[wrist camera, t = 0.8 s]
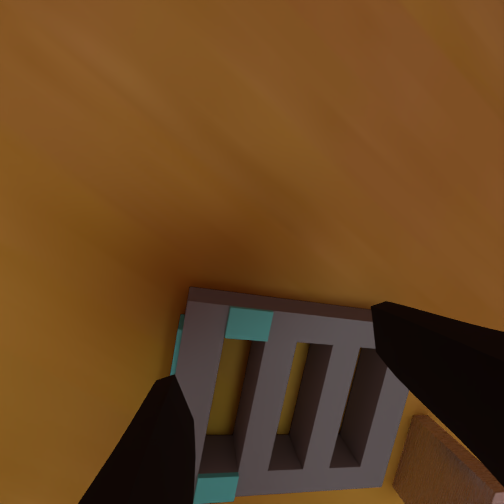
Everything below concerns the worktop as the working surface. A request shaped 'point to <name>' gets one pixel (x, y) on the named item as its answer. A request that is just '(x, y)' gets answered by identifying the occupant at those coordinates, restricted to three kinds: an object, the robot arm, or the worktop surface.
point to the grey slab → (442, 469)
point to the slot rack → (273, 392)
